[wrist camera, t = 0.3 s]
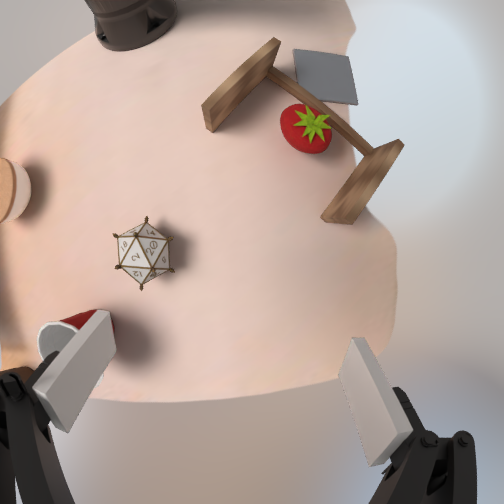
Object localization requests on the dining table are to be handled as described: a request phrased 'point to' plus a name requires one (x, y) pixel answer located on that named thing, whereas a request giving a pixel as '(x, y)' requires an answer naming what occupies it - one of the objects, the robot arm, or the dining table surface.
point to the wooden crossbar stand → (261, 66)
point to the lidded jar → (13, 190)
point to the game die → (143, 253)
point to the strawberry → (306, 128)
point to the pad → (325, 76)
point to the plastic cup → (62, 334)
